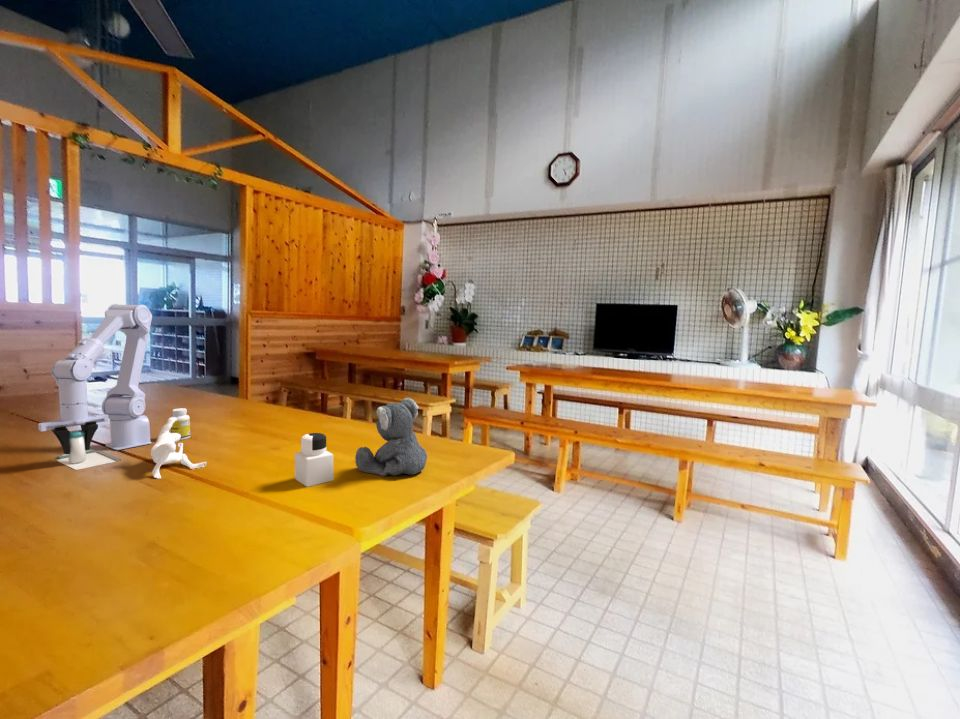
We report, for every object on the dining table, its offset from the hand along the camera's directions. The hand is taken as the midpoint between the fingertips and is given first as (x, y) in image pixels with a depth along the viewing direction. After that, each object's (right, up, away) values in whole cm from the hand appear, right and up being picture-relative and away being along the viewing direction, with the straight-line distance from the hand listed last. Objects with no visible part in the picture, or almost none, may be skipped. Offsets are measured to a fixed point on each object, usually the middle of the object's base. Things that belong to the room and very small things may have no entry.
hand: (76, 451), depth 127 cm
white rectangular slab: (+1, -3, +2) cm, 4 cm away
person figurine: (+26, -4, 0) cm, 26 cm away
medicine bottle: (+68, -6, -8) cm, 69 cm away
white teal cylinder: (0, -3, 0) cm, 3 cm away
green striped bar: (-6, -2, +7) cm, 9 cm away
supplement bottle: (+11, -1, +27) cm, 29 cm away
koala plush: (+88, -5, +2) cm, 88 cm away
